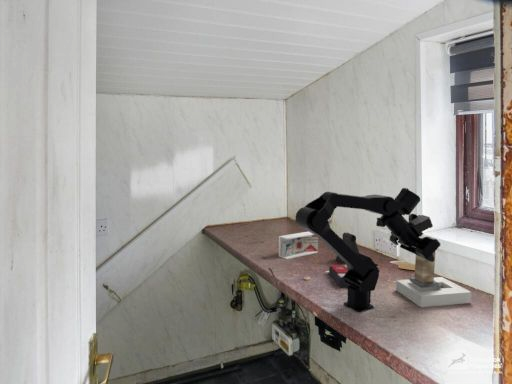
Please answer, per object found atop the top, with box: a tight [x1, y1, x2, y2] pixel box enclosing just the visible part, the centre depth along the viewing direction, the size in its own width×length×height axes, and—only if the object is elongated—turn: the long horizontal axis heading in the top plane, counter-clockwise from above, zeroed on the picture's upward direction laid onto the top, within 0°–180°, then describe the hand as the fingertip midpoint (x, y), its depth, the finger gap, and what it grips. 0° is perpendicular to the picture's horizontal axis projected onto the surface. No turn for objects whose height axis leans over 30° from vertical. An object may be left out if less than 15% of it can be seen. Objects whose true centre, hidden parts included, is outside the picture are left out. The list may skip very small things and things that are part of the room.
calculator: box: [328, 264, 363, 288], centre depth 131 cm, size 11×4×15 cm
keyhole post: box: [409, 235, 439, 288], centre depth 113 cm, size 6×6×15 cm
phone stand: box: [335, 232, 360, 265], centre depth 152 cm, size 9×6×12 cm, turn 106°
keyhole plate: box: [395, 276, 472, 308], centre depth 115 cm, size 17×14×4 cm
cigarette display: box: [278, 231, 319, 260], centre depth 163 cm, size 20×6×9 cm, turn 123°
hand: (429, 258), depth 113 cm, fingers closed on keyhole post, 4 cm apart
